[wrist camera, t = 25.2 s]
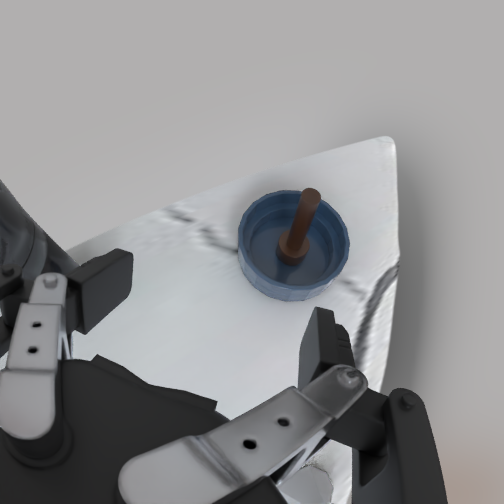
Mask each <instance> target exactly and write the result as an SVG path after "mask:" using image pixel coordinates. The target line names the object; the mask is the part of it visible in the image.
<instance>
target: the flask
mask: <svg viewBox="0 0 504 504" xmlns="http://www.w3.org/2000/svg"><path fill="white" fill-rule="evenodd" d="M279 491H280V492H281V494H282V495H283V497H284V498H285V500H286V501H287V503H288V504H333V503H331V499H332V493H333V485H332V483H331V481H330V479H329V476H328V474H327V472H324V471H322V470H319V469H317V468H315V467H312V466H310V465H309V466H307V467H304V468H302V469H300V470H298V471H297V472H296V473H295V474H294V475H293V476H292V477H291V478H290V479H289V480H288V481H287V482H285V483H284V484H283V485H282V486H281V487H279Z"/></svg>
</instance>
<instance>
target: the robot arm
mask: <svg viewBox="0 0 504 504" xmlns="http://www.w3.org/2000/svg"><path fill="white" fill-rule="evenodd" d="M132 273H133V254H132V253H131V252H127V251H124V250H121V249H118V248H116V249H114V250H112V251H110V252H109V253H107V254H105V255H103V256H99V257H94V258H93V259H91V260H89V261H87V263H84V264H82V265H81V266H79V265H78V264H77V263H76V262H75V261H74V260H73V259H72V258H71V257H70V256H69V255H68V254H67V253H66V252H65V251H63V250H62V249H61V248H60V247H59V246H58V245H57V244H56V243H55V242H54V241H53V240H52V239H51V238H50V237H49V236H48V235H47V234H46V232H45V231H44V230H43V229H42V228H41V227H40V226H39V225H38V224H37V223H36V222H35V221H34V220H33V219H32V218H31V217H30V216H29V214H28V213H27V212H26V211H25V210H24V209H23V208H22V207H21V205H20V204H19V203H18V201H17V200H16V199H15V197H14V196H13V195H12V194H11V192H10V191H9V190H8V189H7V187H6V186H5V185H4V184H3V182H2V181H1V180H0V309H1V313H2V316H1V317H0V358H1V357H2V356H3V355H4V354H5V353H6V352H7V351H9V352H8V357H7V362H6V366H5V368H4V369H2V370H1V371H0V504H288V503H287V501H286V500H285V498H284V497H283V495H282V494H281V492H280V491H279V489H278V488H279V487H281V486H282V485H283V484H284V483H285V482H287V481H288V480H289V479H290V478H291V477H292V476H293V475H294V474H295V473H296V472H297V471H298V470H299V469H300V468H301V467H302V466H303V465H305V464H306V463H307V462H308V461H309V460H310V459H311V458H313V457H314V456H315V455H316V454H317V453H318V452H319V451H320V450H321V449H322V448H324V447H325V446H326V445H327V444H328V443H329V442H330V441H331V440H335V441H337V442H339V443H342V444H344V445H347V446H349V447H352V504H448V502H447V496H446V491H445V485H444V480H443V475H442V470H441V466H440V461H439V457H438V453H437V449H436V445H435V441H434V437H433V433H432V429H431V426H430V423H429V419H428V415H427V412H426V409H425V405H424V402H423V401H422V399H421V398H420V397H419V396H418V395H417V394H416V393H414V392H412V391H411V390H408V389H404V388H397V389H394V390H393V391H392V392H391V393H390V395H389V396H386V395H383V394H380V393H378V392H376V391H373V390H371V389H369V388H368V381H367V378H366V377H365V375H364V374H363V373H362V372H360V371H359V370H358V369H356V368H355V363H354V358H353V353H352V349H351V343H350V339H349V334H348V332H347V331H346V330H345V328H344V327H343V326H342V325H340V324H335V318H334V312H333V311H332V310H328V309H324V308H320V307H315V308H314V310H313V312H312V315H311V318H310V320H309V323H308V326H307V328H306V331H305V333H304V336H303V339H302V342H301V346H300V352H299V373H298V389H297V388H296V387H295V386H291V387H288V388H287V389H285V390H283V391H282V392H280V393H279V394H277V395H275V396H274V397H272V398H270V399H269V400H267V401H265V402H263V403H262V404H260V405H258V406H256V407H255V408H253V409H251V410H249V411H248V412H246V413H244V414H242V415H240V416H238V417H237V418H235V419H233V420H231V421H230V420H229V419H228V418H226V417H225V416H223V415H222V414H220V413H219V412H217V411H215V409H216V405H217V402H218V401H215V400H212V399H209V398H205V397H202V396H199V395H196V394H193V393H190V392H187V391H184V390H177V389H171V388H165V387H160V386H154V385H150V384H148V383H146V382H145V381H143V380H142V379H140V378H139V377H137V376H136V375H135V374H133V373H132V372H130V371H129V370H127V369H126V368H125V367H123V366H121V365H119V364H117V363H115V362H112V361H110V360H108V359H106V358H104V357H102V356H100V355H98V354H97V355H96V356H95V357H94V358H93V359H92V360H91V361H87V360H80V359H73V336H72V332H73V331H74V330H76V331H78V332H80V333H82V334H84V335H86V334H87V333H88V332H89V331H90V330H91V329H92V328H93V327H95V326H96V325H97V324H98V323H99V322H100V321H101V320H102V319H103V318H104V317H106V316H107V315H108V314H109V313H110V312H111V311H112V310H113V309H115V308H116V307H117V306H118V305H119V304H120V303H121V302H122V301H124V300H125V299H126V298H127V297H128V295H129V293H130V291H131V287H132Z"/></svg>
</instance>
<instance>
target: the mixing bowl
mask: <svg viewBox="0 0 504 504" xmlns="http://www.w3.org/2000/svg"><path fill="white" fill-rule="evenodd" d="M301 193H302V192H301V191H291V190H281V191H277V192H273V193H270V194H267V195H265V196H263V197H261V198H260V199H258V200H256V201H255V202H253V203H252V205H251V206H250V207H249V208H248V209H247V210H246V212H245V213H244V214H243V217H242V220H241V222H240V225H239V228H238V259H239V263H240V265H241V268H242V271H243V273H244V275H245V276H246V278H247V279H248V280H249V281H250V283H251V284H252V285H253V286H254V287H255V288H256V289H258V290H259V291H261V292H262V293H264V294H265V295H267V296H269V297H271V298H275V299H279V300H282V301H304V300H307V299H309V298H312V297H315V296H317V295H319V294H320V293H321V292H323V291H324V290H325V289H326V288H327V287H328V286H330V284H331V283H332V282H333V281H334V280H335V278H336V277H337V276H338V275H339V274H340V272H341V271H342V269H343V267H344V265H345V263H346V261H347V259H348V254H349V247H350V241H349V237H348V232H347V228H346V226H345V224H344V222H343V220H342V219H341V217H340V215H339V214H338V213H337V212H336V211H335V210H334V209H333V208H332V207H331V206H330V205H329V204H328V203H327V202H325V201H323V200H320V203H319V205H318V208H317V210H316V213H315V215H314V218H313V220H312V223H311V225H310V227H309V230H308V232H307V235H306V236H307V237H308V239H309V243H310V247H309V250H308V252H307V254H306V256H305V258H304V260H303V261H302V262H301V263H300V264H298V265H295V266H289V265H286V264H284V263H282V262H281V261H280V260H279V259H278V257H277V254H276V249H277V245H278V241H279V238H280V236H281V234H282V233H284V232H285V231H287V230H290V229H291V226H292V223H293V219H294V216H295V213H296V210H297V206H298V203H299V200H300V196H301Z"/></svg>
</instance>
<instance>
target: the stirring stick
mask: <svg viewBox="0 0 504 504" xmlns="http://www.w3.org/2000/svg"><path fill="white" fill-rule="evenodd" d="M320 200H321V195H320V193H319V192H318V191H317V190H315V189H313V188H307V189H304V190H303V191H302V193H301V196H300V200H299V203H298V206H297V210H296V213H295V216H294V219H293V223H292V226H291V229H290V230H287V231H285V232H284V233H282V234H281V236H280V238H279V241H278V245H277V249H276V254H277V257H278V259H279V260H280V261H281V262H282V263H284V264H286V265H289V266H295V265H298V264H300V263H301V262H302V261H303V260H304V258H305V256H306V254H307V252H308V250H309V247H310V243H309V239H308V237H307V236H306V235H307V232H308V230H309V227H310V225H311V223H312V220H313V218H314V215H315V213H316V210H317V208H318V205H319V203H320Z"/></svg>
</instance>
